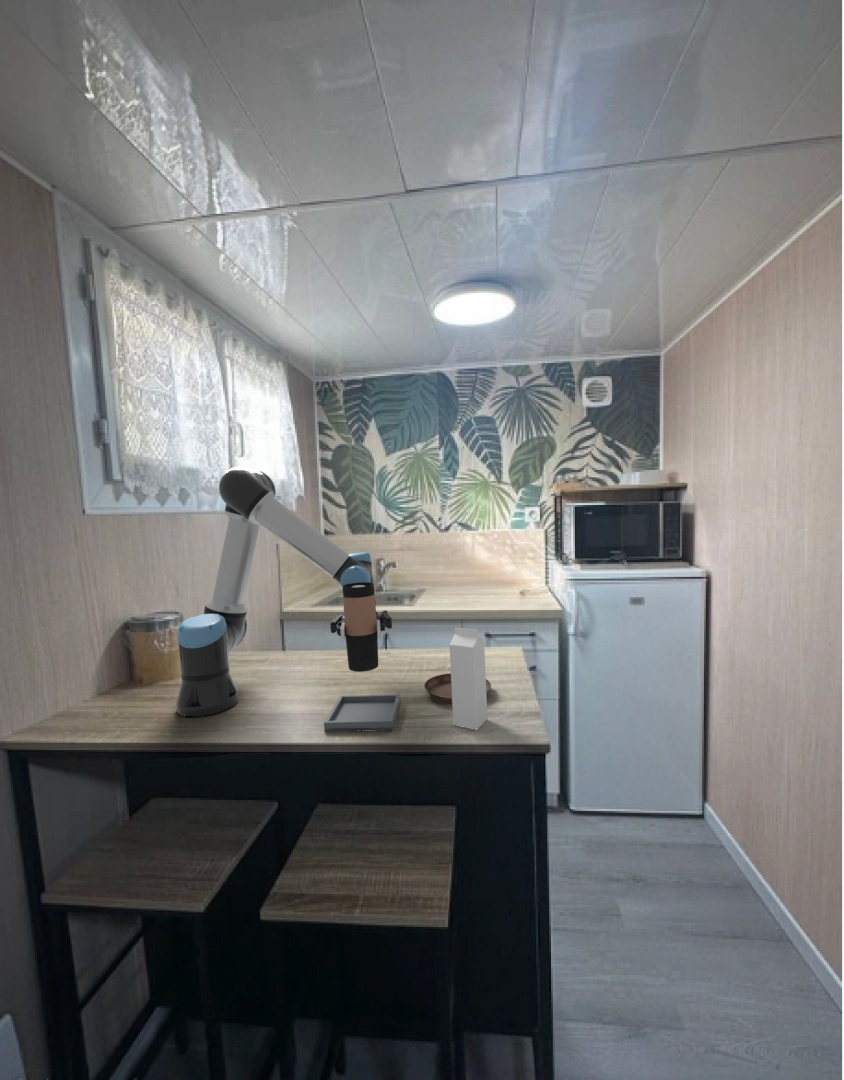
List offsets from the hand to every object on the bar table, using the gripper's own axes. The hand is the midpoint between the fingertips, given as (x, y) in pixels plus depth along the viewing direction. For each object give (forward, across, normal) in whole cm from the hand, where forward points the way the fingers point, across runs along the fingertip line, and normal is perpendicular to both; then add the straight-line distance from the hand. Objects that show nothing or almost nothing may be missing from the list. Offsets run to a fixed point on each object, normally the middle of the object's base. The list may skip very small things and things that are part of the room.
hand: (360, 633), depth 111 cm
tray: (-5, 0, -22) cm, 22 cm away
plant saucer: (-14, -24, -22) cm, 36 cm away
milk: (+4, -24, -22) cm, 33 cm away
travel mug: (-5, 0, -10) cm, 11 cm away
